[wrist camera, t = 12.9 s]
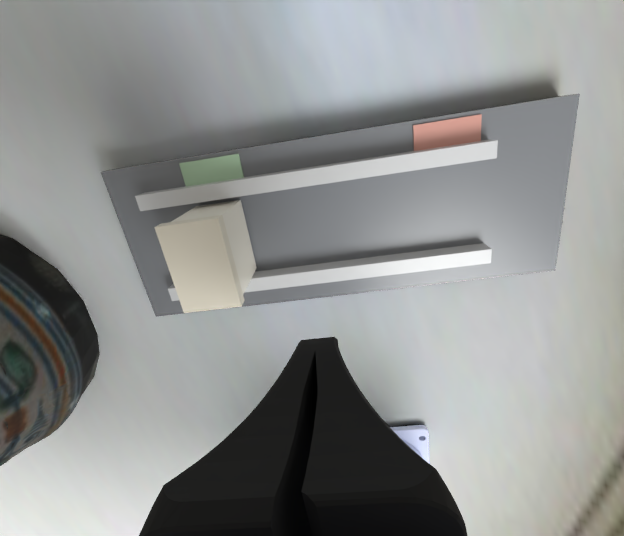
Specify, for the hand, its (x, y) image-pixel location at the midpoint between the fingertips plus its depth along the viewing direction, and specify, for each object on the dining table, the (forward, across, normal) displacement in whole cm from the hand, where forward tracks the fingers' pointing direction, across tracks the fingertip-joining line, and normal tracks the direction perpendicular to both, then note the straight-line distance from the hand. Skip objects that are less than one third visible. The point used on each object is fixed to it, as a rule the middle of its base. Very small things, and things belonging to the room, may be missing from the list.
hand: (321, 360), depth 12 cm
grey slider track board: (+9, -1, -3) cm, 10 cm away
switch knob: (+8, +5, -3) cm, 10 cm away
